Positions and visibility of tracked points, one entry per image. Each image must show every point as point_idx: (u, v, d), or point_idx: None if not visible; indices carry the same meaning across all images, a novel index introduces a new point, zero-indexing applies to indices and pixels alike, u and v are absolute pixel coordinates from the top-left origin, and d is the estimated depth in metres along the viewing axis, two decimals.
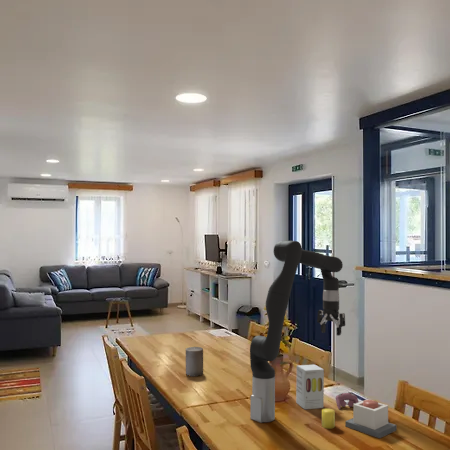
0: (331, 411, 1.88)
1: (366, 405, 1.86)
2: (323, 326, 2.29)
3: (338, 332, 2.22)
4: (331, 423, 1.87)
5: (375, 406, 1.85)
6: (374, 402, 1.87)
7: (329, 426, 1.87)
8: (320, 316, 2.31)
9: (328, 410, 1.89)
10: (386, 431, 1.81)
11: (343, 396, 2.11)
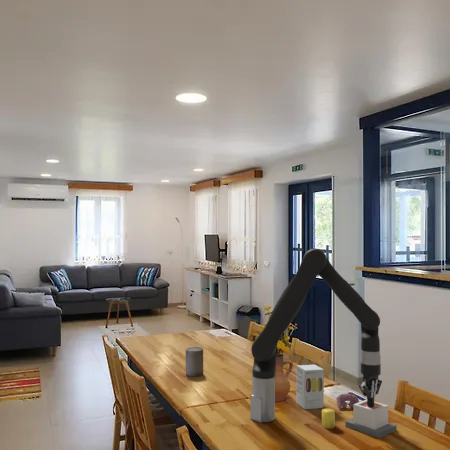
0: (331, 411, 1.88)
1: None
2: None
3: None
4: (331, 423, 1.87)
5: None
6: (374, 406, 1.87)
7: (329, 426, 1.87)
8: None
9: (328, 410, 1.89)
10: (386, 431, 1.81)
11: (344, 397, 2.10)
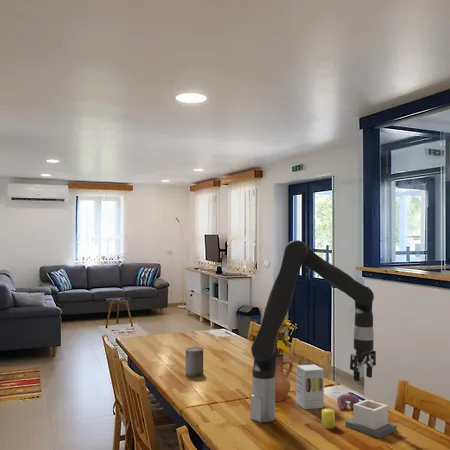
0: (331, 411, 1.88)
1: None
2: None
3: None
4: (331, 423, 1.87)
5: None
6: None
7: (329, 426, 1.87)
8: None
9: (328, 410, 1.89)
10: (386, 431, 1.81)
11: (344, 397, 2.09)
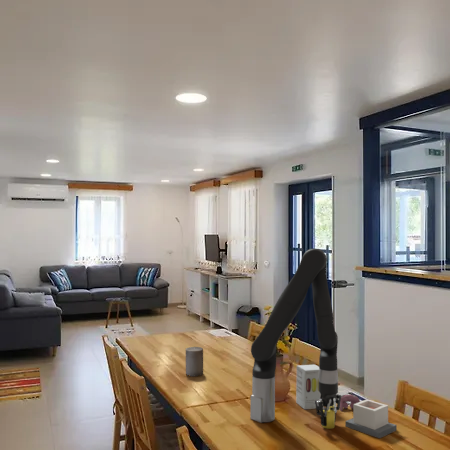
0: (331, 411, 1.88)
1: None
2: None
3: None
4: (331, 423, 1.87)
5: None
6: None
7: (329, 426, 1.87)
8: None
9: None
10: (386, 431, 1.81)
11: (345, 398, 2.09)
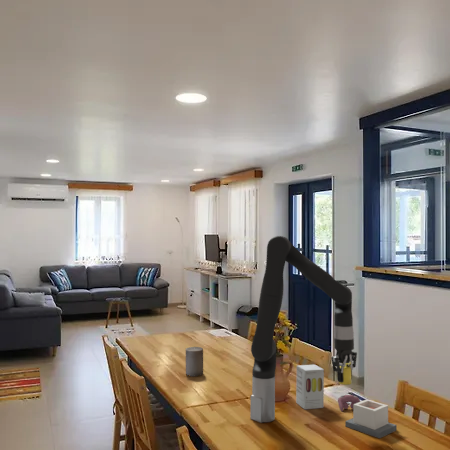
0: (347, 368, 1.88)
1: None
2: None
3: (351, 375, 1.90)
4: (348, 379, 1.86)
5: None
6: None
7: (346, 382, 1.86)
8: None
9: (344, 367, 1.89)
10: (386, 431, 1.81)
11: (345, 398, 2.08)
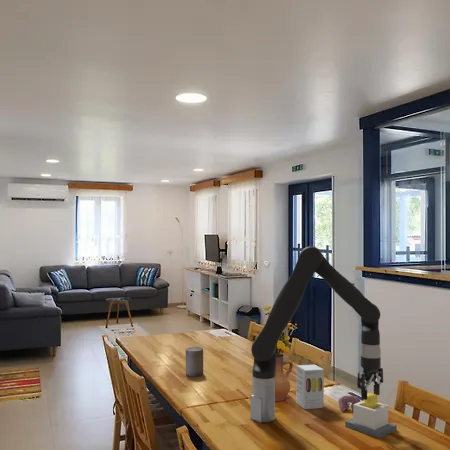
0: (373, 395, 1.87)
1: None
2: None
3: None
4: (374, 407, 1.85)
5: None
6: None
7: None
8: None
9: (370, 394, 1.88)
10: (386, 431, 1.81)
11: (346, 399, 2.07)
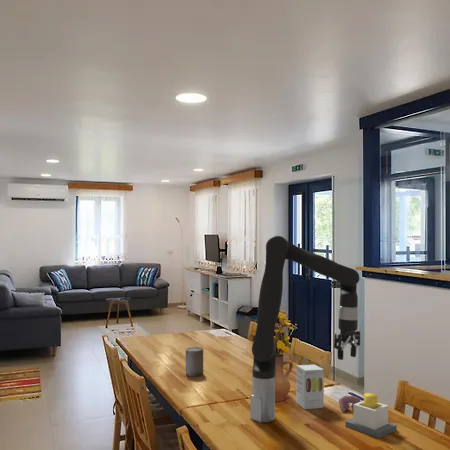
0: (373, 395, 1.87)
1: None
2: None
3: None
4: (374, 407, 1.85)
5: None
6: None
7: None
8: None
9: (370, 394, 1.88)
10: (386, 431, 1.81)
11: (346, 399, 2.07)
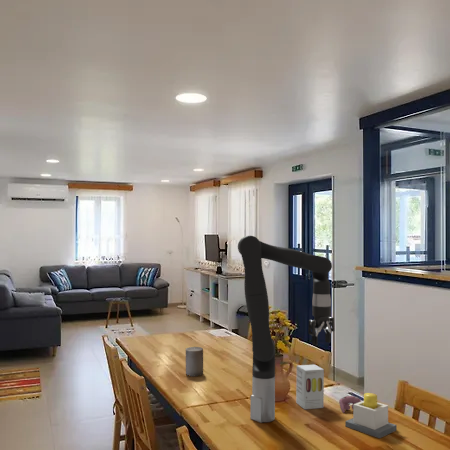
0: (373, 395, 1.87)
1: None
2: None
3: None
4: (374, 407, 1.85)
5: None
6: None
7: None
8: None
9: (370, 394, 1.88)
10: (386, 431, 1.81)
11: (347, 399, 2.06)
